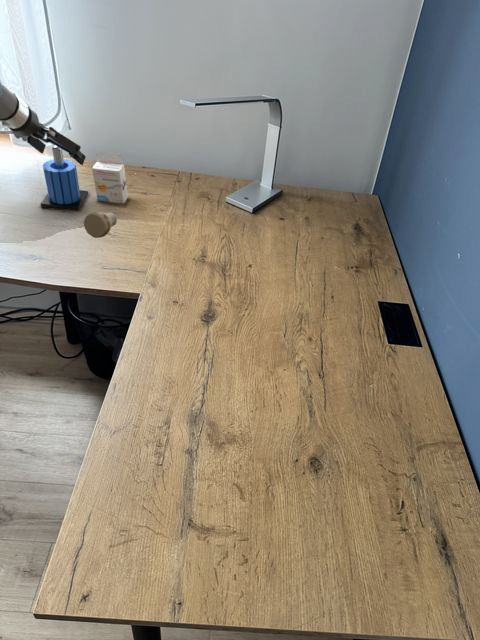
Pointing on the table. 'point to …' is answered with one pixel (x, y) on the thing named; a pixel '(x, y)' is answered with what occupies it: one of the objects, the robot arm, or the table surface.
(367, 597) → the table surface
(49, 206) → the stand
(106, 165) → the ink box
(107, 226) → the mug
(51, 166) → the blue ribbed pencil cup
